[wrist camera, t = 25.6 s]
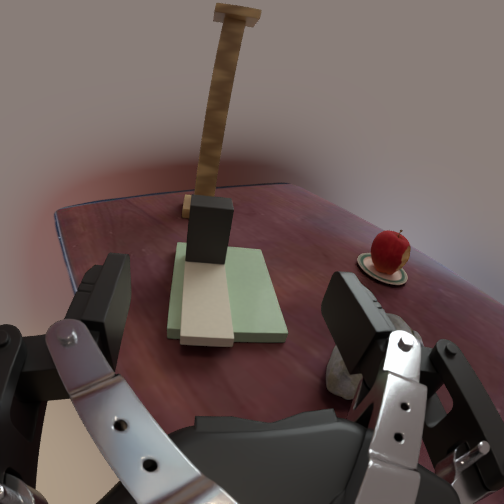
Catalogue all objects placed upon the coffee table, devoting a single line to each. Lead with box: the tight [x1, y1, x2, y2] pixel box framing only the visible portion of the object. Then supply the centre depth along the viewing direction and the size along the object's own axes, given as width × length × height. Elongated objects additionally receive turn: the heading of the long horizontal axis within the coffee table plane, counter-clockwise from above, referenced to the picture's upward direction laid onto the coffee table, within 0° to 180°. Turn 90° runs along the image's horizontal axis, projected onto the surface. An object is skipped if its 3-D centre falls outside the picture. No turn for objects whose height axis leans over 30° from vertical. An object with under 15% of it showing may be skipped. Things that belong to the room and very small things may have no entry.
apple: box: [357, 230, 411, 285], centre depth 38 cm, size 8×8×6 cm
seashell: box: [326, 313, 424, 400], centre depth 22 cm, size 12×8×5 cm
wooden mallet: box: [180, 194, 234, 347], centre depth 25 cm, size 4×13×7 cm, turn 8°
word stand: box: [182, 3, 261, 218], centre depth 38 cm, size 6×6×32 cm
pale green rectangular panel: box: [167, 242, 288, 342], centre depth 30 cm, size 10×14×1 cm
